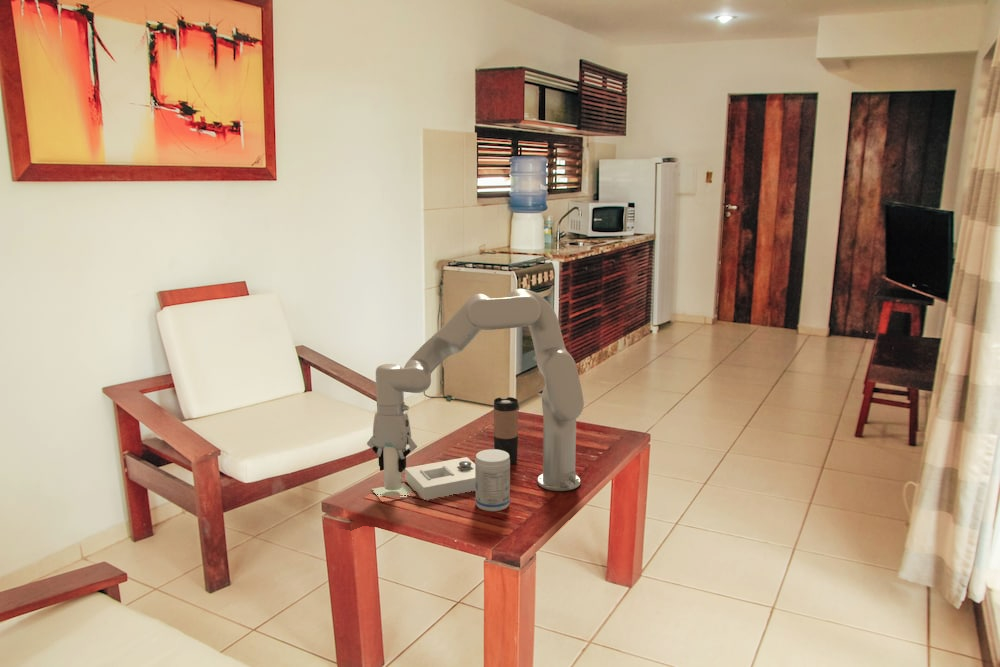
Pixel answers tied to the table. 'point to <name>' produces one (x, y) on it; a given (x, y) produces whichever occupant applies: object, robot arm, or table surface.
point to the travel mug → (506, 426)
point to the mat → (393, 491)
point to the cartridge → (391, 468)
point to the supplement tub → (492, 480)
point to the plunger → (464, 465)
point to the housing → (441, 478)
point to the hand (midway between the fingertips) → (392, 468)
